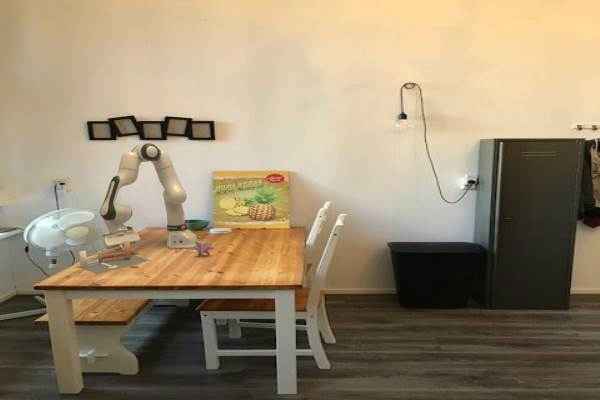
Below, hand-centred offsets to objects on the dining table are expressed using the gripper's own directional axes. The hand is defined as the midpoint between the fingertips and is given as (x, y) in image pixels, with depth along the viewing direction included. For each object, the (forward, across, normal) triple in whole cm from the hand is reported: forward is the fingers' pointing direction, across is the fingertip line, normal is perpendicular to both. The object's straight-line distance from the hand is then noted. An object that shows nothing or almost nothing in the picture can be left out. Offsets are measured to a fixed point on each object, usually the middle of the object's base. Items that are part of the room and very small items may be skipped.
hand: (126, 251), depth 221 cm
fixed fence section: (+1, -18, +6) cm, 19 cm away
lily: (+25, +30, -19) cm, 44 cm away
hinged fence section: (+3, -6, +3) cm, 7 cm away
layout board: (+6, -9, 0) cm, 11 cm away
